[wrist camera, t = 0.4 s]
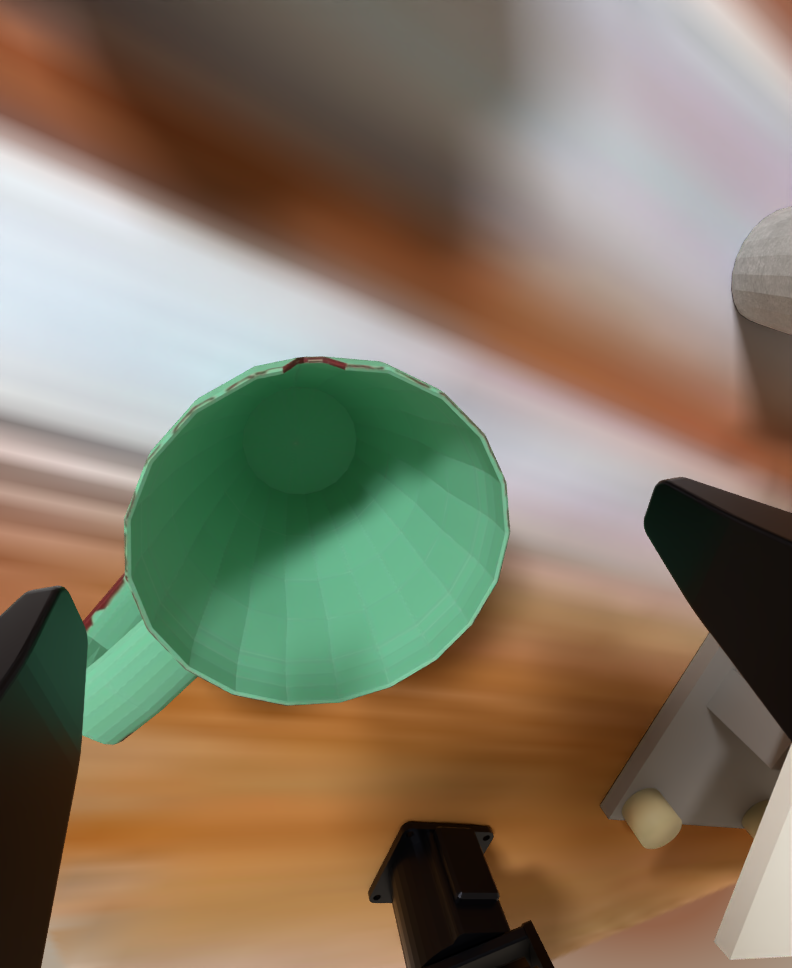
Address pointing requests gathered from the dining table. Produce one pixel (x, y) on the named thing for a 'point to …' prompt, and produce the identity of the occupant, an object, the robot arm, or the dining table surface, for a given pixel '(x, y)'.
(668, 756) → the stand
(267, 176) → the dining table surface
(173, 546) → the mug
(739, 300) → the house plant
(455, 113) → the dining table surface
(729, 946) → the deck
